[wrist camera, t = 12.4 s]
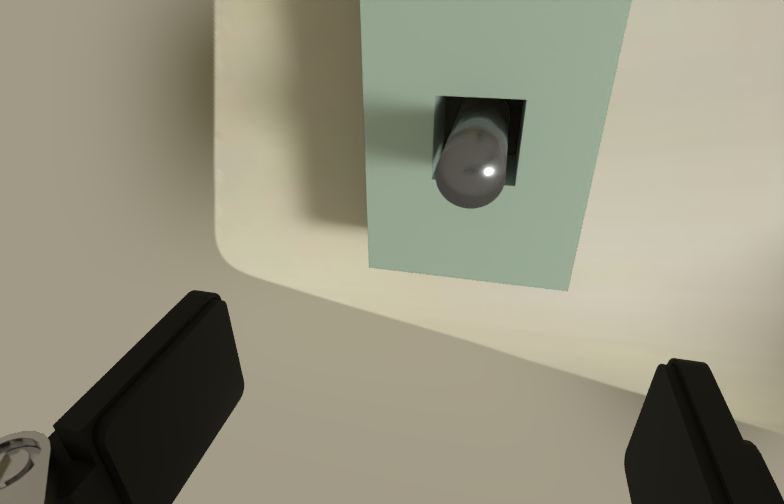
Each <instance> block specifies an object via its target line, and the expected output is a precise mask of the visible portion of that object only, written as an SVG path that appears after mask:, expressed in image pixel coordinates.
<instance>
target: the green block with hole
mask: <svg viewBox="0 0 784 504" xmlns="http://www.w3.org/2000/svg"><path fill="white" fill-rule="evenodd" d="M631 1H632V0H360V18H361V47H362V77H363V107H364V137H365V166H366V196H367V226H368V255H369V268H377V269H385V270H394V271H402V272H410V273H419V274H427V275H435V276H444V277H452V278H461V279H469V280H477V281H486V282H494V283H502V284H511V285H519V286H528V287H536V288H544V289H553V290H561V291H568V287H569V283H570V278H571V274H572V269H573V265H574V260H575V256H576V251H577V246H578V242H579V237H580V233H581V228H582V224H583V219H584V215H585V210H586V206H587V201H588V196H589V192H590V187H591V183H592V178H593V174H594V169H595V165H596V160H597V156H598V151H599V146H600V142H601V137H602V133H603V128H604V124H605V119H606V115H607V110H608V106H609V101H610V96H611V92H612V87H613V83H614V78H615V74H616V69H617V65H618V60H619V56H620V51H621V46H622V42H623V37H624V33H625V28H626V24H627V19H628V15H629V10H630V6H631ZM446 96H458V97H479V98H501V99H522V100H523V104H522V112H521V119H520V127H519V135H518V142H517V150H516V155H507V164H506V179H505V184H504V187H503V189H502V191H501V193H500V194H499V196H498V197H497V198H496V199H495V200H494V201H493V202H491V203H489V204H488V205H486V206H483V207H480V208H474V209H467V208H462V207H458V206H456V205H454V204H452V203H450V202H449V201H447V200H446V199H445V198H444V197H443V195H442V194H441V193H440V191H439V189H438V187H437V184H436V179H435V172H436V167H437V164H438V162H439V159H440V157H441V154H442V152H443V150H444V131H445V111H446Z"/></svg>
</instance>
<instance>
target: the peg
mask: <svg viewBox="0 0 784 504" xmlns="http://www.w3.org/2000/svg"><path fill="white" fill-rule="evenodd" d="M509 116H510V113H509V108H508V105H507V103H506V102H505V100H504V99H501V98H479V97H468V98H467V99H466V100H465V101H464V103H463V104H462V106H461V109H460V111H459V113H458V116H457V118H456V121H455V123H454V126H453V128H452V130H451V133H450V135H449V138H448V140H447V142H446V145H445V147H444V150H443V152H442V154H441V157H440V159H439V162H438V164H437V167H436V172H435V179H436V184H437V187H438V189H439V191H440V193H441V194H442V195H443V197H444V198H445V199H446V200H447V201H449V202H450V203H452V204H454V205H456V206H458V207H462V208H467V209H474V208H480V207H483V206H486V205H488V204H489V203H491V202H493V201H494V200H495V199H496V198H497V197H498V196H499V194H500V193H501V191H502V189H503V187H504V184H505V179H506V164H507V148H508V132H509Z"/></svg>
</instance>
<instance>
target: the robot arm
mask: <svg viewBox="0 0 784 504" xmlns="http://www.w3.org/2000/svg"><path fill="white" fill-rule="evenodd" d="M243 390H244V380H243V375H242V371H241V366H240V362H239V357H238V353H237V349H236V344H235V339H234V335H233V331H232V326H231V322H230V317H229V313H228V308H227V305H226V302H225V301H222V300H221V298H220V296H219V295H218V294H216V293H210V292H204V291H196V290H193V291H191V292H189V293H188V294H187V295H186V296H185V297H184V298H183V299H182V300H181V301H180V302H179V303H178V304H177V305H176V306H174V308H172V309H171V310H170V311H169V312H168V314H166V315H165V317H163V318H162V319H161V320H160V321H159V322H158V323H157V324H156V325H155V326H154V327H153V328H152V329H151V330H150V331H149V332H148V333H147V334H146V335H145V336H144V337H143V338H142V339H141V340H140V341H139V342H138V343H137V344H136V345H135V346H134V347H133V348H132V349H131V350H130V351H128V352H127V353H126V355H125V356H123V357H122V358H121V359H120V360H119V361H118V362H117V363H116V364H115V365H114V366H113V367H112V368H111V369H110V370H109V371H108V372H107V373H106V374H105V375H104V376H103V377H102V378H101V379H100V380H99V381H98V382H97V383H96V384H95V385H94V386H93V387H92V388H91V389H90V390H89V391H88V392H87V393H86V394H85V395H84V396H82V397H81V398H80V399H79V400H78V401H77V402H76V403H75V404H74V405H73V406H72V407H71V408H70V409H69V410H68V411H67V412H66V413H65V414H64V415H63V416H62V417H61V418H60V419H59V420H58V421H57V422H56V423H55V424H54V425H53V427H54V429H55V431H54V432H53V433H52V434H51V435H50V436H49V437H48V438H47V437H46V436H45V435H44V434H42V433H39V432H36V431H22V432H18V433H13V434H9V435H7V436H4V437H2V438H0V504H172V503H173V501H174V500H175V498H176V497H177V495H178V494H179V492H180V491H181V489H182V487H183V486H184V485H185V483H186V481H187V480H188V478H189V477H190V475H191V474H192V472H193V471H194V469H195V468H196V466H197V465H198V463H199V462H200V460H201V458H202V457H203V455H204V454H205V452H206V451H207V449H208V448H209V446H210V445H211V443H212V441H213V440H214V439H215V437H216V435H217V434H218V432H219V431H220V429H221V428H222V426H223V425H224V423H225V422H226V420H227V419H228V417H229V415H230V414H231V412H232V411H233V409H234V408H235V406H236V405H237V403H238V402H239V400H240V398H241V397H242V394H243ZM624 461H625V462H624V465H625V473H626V478H627V483H628V487H629V493H630V497H631V503H632V504H784V501H783V498H782V496H781V494H780V492H779V490H778V488H777V486H776V484H775V482H774V480H773V478H772V476H771V474H770V472H769V470H768V468H767V465H766V463H765V461H764V460H763V457H762V455H761V453H760V452H759V450H758V449H757V447H756V446H755V445H754V444H753V443H752V442H750V441H747V440H743V438H742V436H741V434H740V432H739V430H738V427H737V425H736V423H735V421H734V419H733V417H732V415H731V412H730V410H729V408H728V406H727V404H726V402H725V400H724V397H723V395H722V393H721V391H720V389H719V387H718V385H717V383H716V380H715V378H714V376H713V374H712V372H711V370H710V368H709V366H708V365H707V364H706V363H704V362H697V361H690V360H683V359H676V358H672V359H670V360H669V362H668V364H667V365H665V364H660V365H658V367H657V369H656V372H655V374H654V377H653V380H652V382H651V385H650V388H649V390H648V393H647V396H646V399H645V402H644V404H643V407H642V409H641V412H640V415H639V417H638V420H637V423H636V426H635V428H634V431H633V433H632V436H631V439H630V441H629V444H628V447H627V449H626V453H625V460H624Z"/></svg>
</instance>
